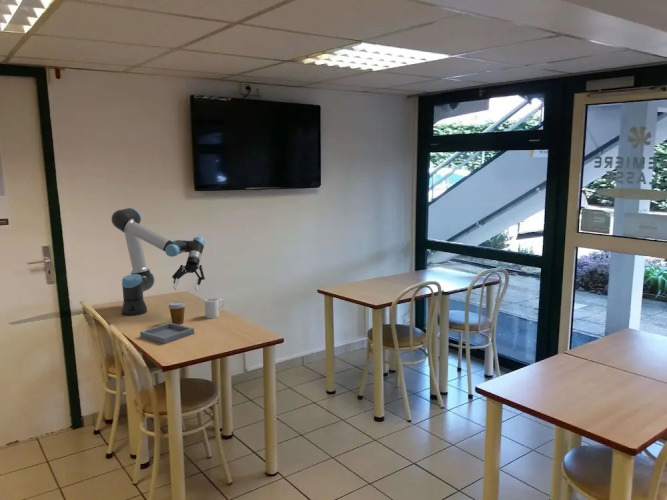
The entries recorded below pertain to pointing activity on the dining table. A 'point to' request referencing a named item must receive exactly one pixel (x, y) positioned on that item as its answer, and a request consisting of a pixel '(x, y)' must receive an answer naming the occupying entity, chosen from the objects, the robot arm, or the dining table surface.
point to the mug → (212, 307)
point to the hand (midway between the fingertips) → (185, 288)
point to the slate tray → (167, 333)
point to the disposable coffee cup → (177, 312)
